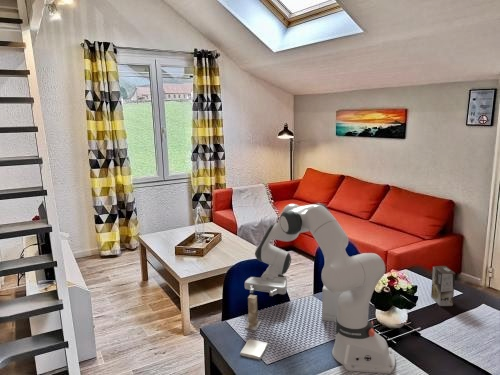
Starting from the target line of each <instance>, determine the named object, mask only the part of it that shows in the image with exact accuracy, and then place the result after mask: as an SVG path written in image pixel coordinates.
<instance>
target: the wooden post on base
mask: <svg viewBox="0 0 500 375" xmlns="http://www.w3.org/2000/svg"><path fill="white" fill-rule="evenodd" d="M247 306H248V307H247V309H248V310H247V312H248V322H247V324H246V325H245V327H244V329H245V330H249V331H254V332H255V331H258V328H260V325H261V324H262V320H259V319H258V295H255V294H249V295H248V296H247Z"/></svg>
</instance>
